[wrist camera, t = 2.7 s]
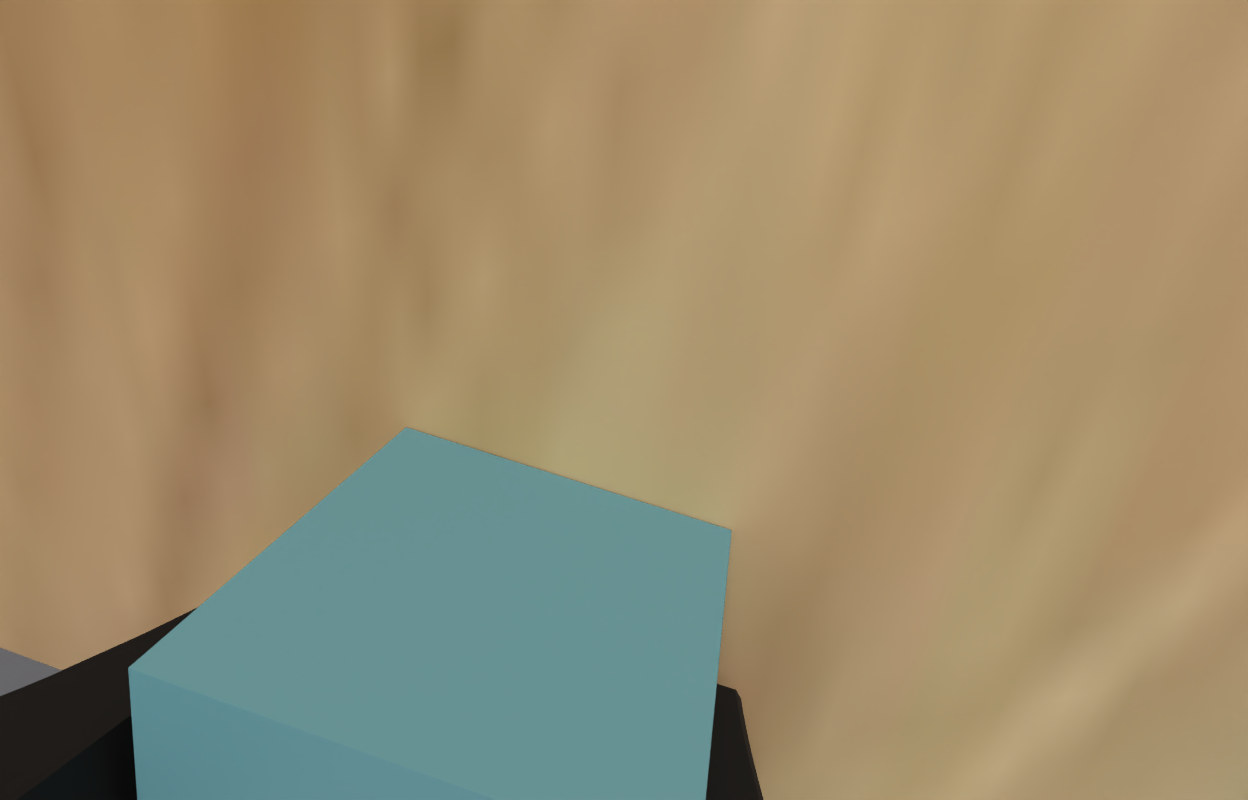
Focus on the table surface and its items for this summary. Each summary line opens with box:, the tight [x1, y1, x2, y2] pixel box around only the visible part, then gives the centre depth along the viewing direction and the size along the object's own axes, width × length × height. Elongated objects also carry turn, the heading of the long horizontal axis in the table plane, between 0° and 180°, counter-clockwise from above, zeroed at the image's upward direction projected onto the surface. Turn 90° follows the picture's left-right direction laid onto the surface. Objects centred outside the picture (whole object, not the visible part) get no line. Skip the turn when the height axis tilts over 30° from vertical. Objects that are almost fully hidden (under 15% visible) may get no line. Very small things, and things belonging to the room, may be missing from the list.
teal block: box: [128, 427, 731, 800], centre depth 9 cm, size 5×5×5 cm
